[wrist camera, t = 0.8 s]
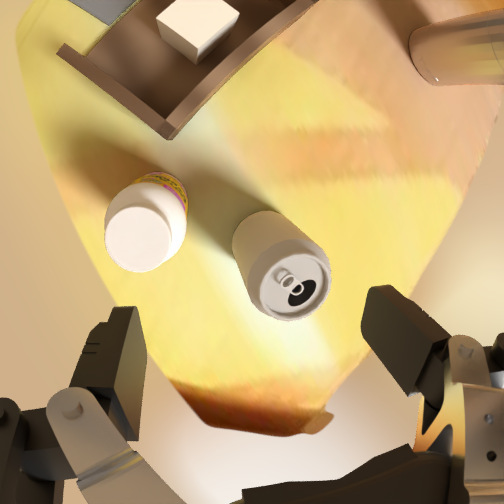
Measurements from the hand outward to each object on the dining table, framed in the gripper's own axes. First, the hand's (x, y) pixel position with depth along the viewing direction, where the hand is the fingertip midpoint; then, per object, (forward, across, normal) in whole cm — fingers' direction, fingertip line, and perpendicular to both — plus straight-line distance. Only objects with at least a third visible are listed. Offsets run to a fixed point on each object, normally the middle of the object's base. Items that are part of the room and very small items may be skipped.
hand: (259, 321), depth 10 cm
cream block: (+23, +2, -17) cm, 29 cm away
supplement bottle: (+24, +6, +1) cm, 25 cm away
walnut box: (+24, +3, -18) cm, 30 cm away
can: (+24, -5, +6) cm, 25 cm away
